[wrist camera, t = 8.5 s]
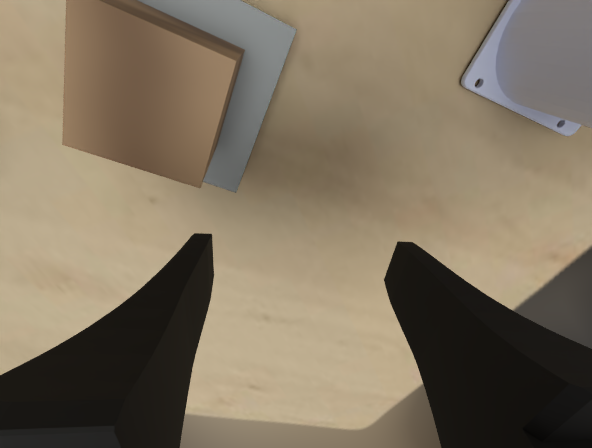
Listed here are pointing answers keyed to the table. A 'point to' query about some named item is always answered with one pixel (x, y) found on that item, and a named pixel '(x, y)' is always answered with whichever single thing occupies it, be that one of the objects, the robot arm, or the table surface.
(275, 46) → the grey block
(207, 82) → the walnut cube
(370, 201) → the table surface
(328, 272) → the table surface
